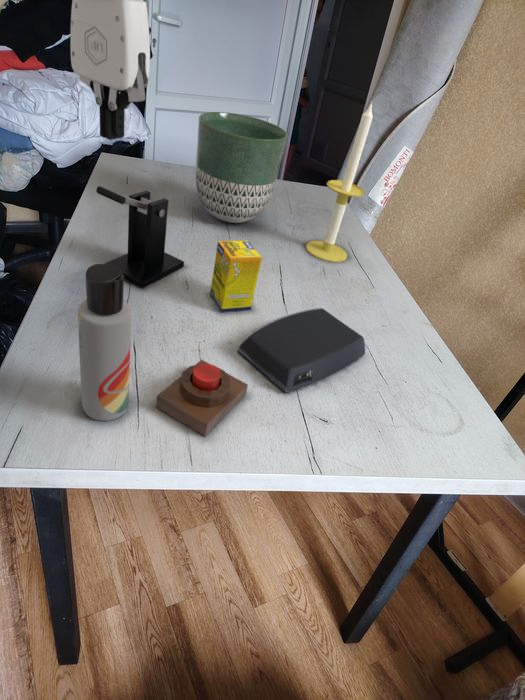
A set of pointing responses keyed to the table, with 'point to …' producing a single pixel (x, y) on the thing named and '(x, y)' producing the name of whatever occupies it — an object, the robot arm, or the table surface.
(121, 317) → the lotion bottle
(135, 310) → the table surface
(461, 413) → the table surface
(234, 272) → the supplement box
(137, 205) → the lever handle
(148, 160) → the table surface
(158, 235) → the lever bracket
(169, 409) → the button block
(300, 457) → the table surface
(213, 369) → the button
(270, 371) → the hard drive
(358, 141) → the candle
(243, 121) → the planter
